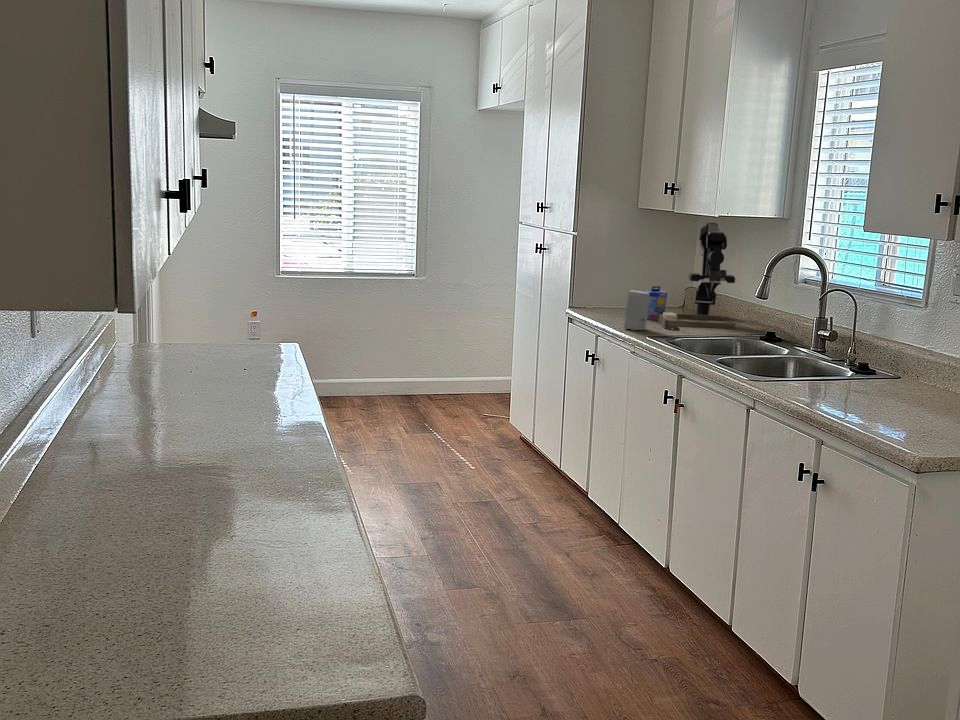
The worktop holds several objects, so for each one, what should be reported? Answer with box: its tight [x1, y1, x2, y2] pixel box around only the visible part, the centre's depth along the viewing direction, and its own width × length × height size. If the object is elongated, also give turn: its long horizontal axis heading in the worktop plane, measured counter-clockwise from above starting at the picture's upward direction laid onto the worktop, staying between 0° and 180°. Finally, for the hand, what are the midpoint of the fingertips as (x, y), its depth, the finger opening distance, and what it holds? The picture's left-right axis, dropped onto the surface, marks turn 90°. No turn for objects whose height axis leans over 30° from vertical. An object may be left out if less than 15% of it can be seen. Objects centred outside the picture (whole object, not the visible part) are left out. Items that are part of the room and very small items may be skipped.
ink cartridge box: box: [642, 285, 668, 320], centre depth 410 cm, size 10×6×14 cm, turn 101°
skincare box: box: [623, 289, 650, 331], centre depth 383 cm, size 8×7×16 cm
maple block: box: [663, 311, 678, 321], centre depth 396 cm, size 5×5×4 cm
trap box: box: [656, 313, 736, 330], centre depth 397 cm, size 18×29×4 cm, turn 90°
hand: (709, 297), depth 400 cm, fingers closed
